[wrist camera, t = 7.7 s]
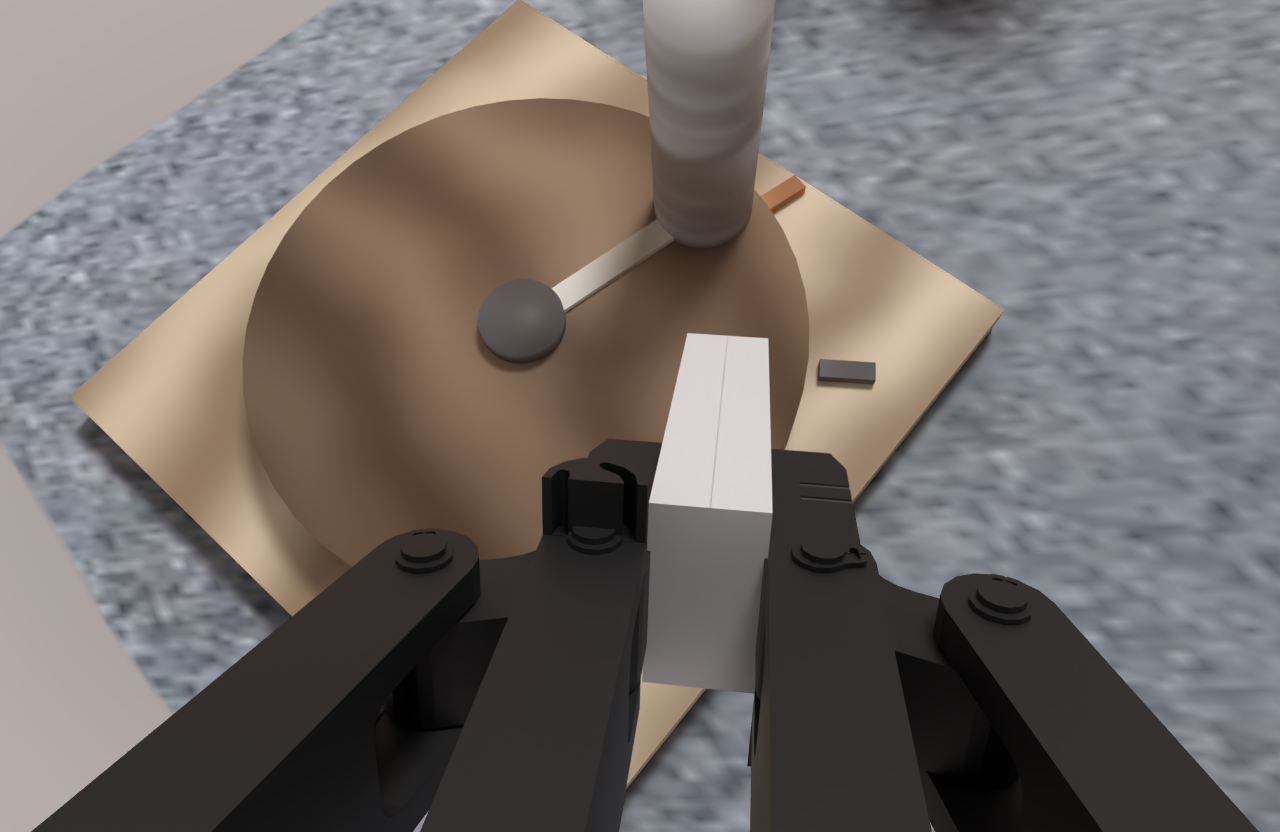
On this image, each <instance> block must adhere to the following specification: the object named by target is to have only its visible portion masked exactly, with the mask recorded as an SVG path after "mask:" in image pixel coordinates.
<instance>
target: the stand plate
mask: <svg viewBox="0 0 1280 832" xmlns="http://www.w3.org/2000/svg"><path fill="white" fill-rule="evenodd" d="M536 98H548V99H574V100H581V101H588V102H595V103H602V104H607V105H611V106H615V107H619V108H623V109H627V110H631V111H634V112H638V113H641V114H643V115H646V116H648V117H649V103H648V85H647V80H645V79H644V78H642V77H641V76H639V75H637V74H636V73H634V72H633V71H631V70H630V69H628V68H627V67H625V66H623V65H622V64H620V63H619V62H617V61H616V60H614V59H612V58H611V57H609V56H608V55H606V54H605V53H603V52H602V51H600V50H598V49H597V48H595V47H594V46H592V45H591V44H589V43H587V42H586V41H584V40H583V39H581V38H580V37H578V36H577V35H575V34H573V33H572V32H570V31H569V30H567V29H566V28H564V27H563V26H561V25H559V24H558V23H556V22H555V21H553V20H552V19H550V18H548V17H547V16H545V15H544V14H542V13H541V12H539V11H538V10H536V9H534V8H533V7H531V6H530V5H528V4H527V3H525V2H523V1H522V0H517V1H516V2H515V3H514V4H513V5H512V6H510V7H509V8H508V9H507V10H506V11H505V12H504V13H502V14H501V15H500V16H499V17H498V18H497V19H496V20H495V21H493V22H492V23H491V24H490V25H489V26H488V27H487V28H486V29H484V30H483V31H482V32H481V33H480V34H479V35H478V36H476V37H475V38H474V39H473V40H472V41H471V42H470V43H469V44H467V45H466V46H465V47H464V48H463V49H462V50H461V51H459V52H458V53H457V54H456V55H455V56H454V57H453V58H452V59H450V60H449V61H448V62H447V63H446V64H445V65H444V66H443V67H441V68H440V69H439V70H438V71H437V72H436V73H435V74H433V75H432V76H431V77H430V78H429V79H428V80H427V81H426V82H424V83H423V84H422V85H421V86H420V87H419V88H418V89H416V90H415V91H414V92H413V93H412V94H411V95H410V96H409V97H407V98H406V99H405V100H404V101H403V102H402V103H401V104H400V105H398V106H397V107H396V108H395V109H394V110H393V111H392V112H390V113H389V114H388V115H387V116H386V117H385V118H384V119H383V120H381V121H380V122H379V123H378V124H377V125H376V126H375V127H374V128H372V129H371V130H370V131H369V132H368V133H367V134H366V135H364V136H363V137H362V138H361V139H360V140H359V141H358V142H357V143H355V144H354V145H353V146H352V147H351V148H350V149H349V150H347V151H346V152H345V153H344V154H343V155H342V156H341V157H340V158H338V159H337V160H336V161H335V162H334V163H333V164H332V165H331V166H329V167H328V168H327V169H326V170H325V171H324V172H323V173H321V174H320V175H319V176H318V177H317V178H316V179H315V180H314V181H312V182H311V183H310V184H309V185H308V186H307V187H306V188H304V189H303V190H302V191H301V192H300V193H299V194H298V195H297V196H295V197H294V198H293V199H292V200H291V201H290V202H289V203H288V204H286V205H285V206H284V207H283V208H282V209H281V210H280V211H278V212H277V213H276V214H275V215H274V216H273V217H272V218H271V219H269V220H268V221H267V222H266V223H265V224H264V225H263V226H261V227H260V228H259V229H258V230H257V231H256V232H255V233H254V234H252V235H251V236H250V237H249V238H248V239H247V240H246V241H245V242H243V243H242V244H241V245H240V246H239V247H238V248H237V249H235V250H234V251H233V252H232V253H231V254H230V255H229V256H228V257H226V258H225V259H224V260H223V261H222V262H221V263H220V264H218V265H217V266H216V267H215V268H214V269H213V270H212V271H211V272H209V273H208V274H207V275H206V276H205V277H204V278H203V279H202V280H200V281H199V282H198V283H197V284H196V285H195V286H194V287H192V288H191V289H190V290H189V291H188V292H187V293H186V294H185V295H183V296H182V297H181V298H180V299H179V300H178V301H177V302H175V303H174V304H173V305H172V306H171V307H170V308H169V309H168V310H166V311H165V312H164V313H163V314H162V315H161V316H160V317H159V318H157V319H156V320H155V321H154V322H153V323H152V324H151V325H149V326H148V327H147V328H146V329H145V330H144V331H143V332H142V333H140V334H139V335H138V336H137V337H136V338H135V339H134V340H133V341H131V342H130V343H129V344H128V345H127V346H126V347H125V348H123V349H122V350H121V351H120V352H119V353H118V354H117V355H116V356H114V357H113V358H112V359H111V360H110V361H109V362H108V363H106V364H105V365H104V366H103V367H102V368H101V369H100V370H99V371H97V372H96V373H95V374H94V375H93V376H92V377H91V378H90V379H88V380H87V381H86V382H85V383H84V384H83V385H82V386H80V387H79V388H78V389H77V390H76V391H75V392H74V393H73V394H71V395H70V396H69V397H70V398H71V399H72V400H73V401H74V402H75V403H76V404H77V405H78V406H79V407H80V408H81V409H82V410H83V411H84V412H85V413H86V414H87V415H88V416H89V417H90V418H91V419H92V420H93V421H94V422H95V423H96V424H97V425H98V426H99V427H100V428H101V429H102V430H103V431H104V432H105V433H106V434H108V435H109V436H110V437H111V438H112V439H113V440H114V441H115V442H116V443H117V444H118V445H119V446H120V447H121V448H122V449H123V450H124V451H125V452H126V453H127V454H128V455H129V456H130V457H131V458H132V459H133V460H134V461H135V462H136V463H137V464H138V465H139V466H140V467H141V468H142V469H143V470H144V471H145V472H146V473H147V474H148V475H149V476H150V477H151V478H152V479H153V480H154V481H155V482H156V483H157V484H158V485H159V486H160V487H161V488H162V489H163V490H164V491H165V492H166V493H167V494H168V495H169V496H170V497H171V498H172V499H173V500H174V501H175V502H177V503H178V504H179V505H180V506H181V507H182V508H183V509H184V510H185V511H186V512H187V513H188V514H189V515H190V516H191V517H192V518H193V519H194V520H195V521H196V522H197V523H198V524H199V525H200V526H201V527H202V528H203V529H204V530H205V531H206V532H207V533H208V534H209V535H210V536H211V537H212V538H213V539H214V540H215V541H216V542H217V543H218V544H219V545H220V546H221V547H222V548H223V549H224V550H225V551H226V552H227V553H228V554H229V555H230V556H231V557H232V558H233V559H234V560H235V561H236V562H237V563H238V564H239V565H240V566H241V567H242V568H243V569H244V570H246V571H247V572H248V573H249V574H250V575H251V576H252V577H253V578H254V579H255V580H256V581H257V582H258V583H259V584H260V585H261V586H262V587H263V588H264V589H265V590H266V591H267V592H268V593H269V594H270V595H271V596H272V597H273V598H274V599H275V600H276V601H277V602H278V603H279V604H280V605H281V606H282V607H283V608H284V609H285V610H286V611H287V612H288V613H289V614H290V615H291V616H293V615H294V614H296V613H297V612H298V611H299V610H301V609H302V608H303V607H304V606H305V605H307V604H308V603H309V602H310V601H311V600H313V599H314V598H315V597H316V596H318V595H319V594H320V593H321V592H322V591H324V590H325V589H326V588H327V587H328V586H330V585H331V584H332V583H333V582H334V581H336V580H337V579H338V578H339V577H341V576H342V575H343V574H344V573H345V572H347V571H348V570H349V569H350V568H351V566H350V565H349V564H347V563H346V562H345V561H343V560H342V559H341V558H339V557H338V556H337V555H335V554H334V553H333V552H331V551H330V550H328V549H327V548H326V547H324V546H323V545H322V544H321V543H320V542H319V541H318V540H317V539H316V538H315V537H314V536H313V535H312V534H311V533H310V532H309V531H308V530H307V529H306V528H305V527H304V526H303V525H302V524H301V523H300V522H299V521H298V520H297V519H296V518H295V516H294V515H293V514H292V512H291V511H290V510H289V508H288V507H287V505H286V504H285V503H284V501H283V500H282V498H281V497H280V496H279V494H278V493H277V492H276V490H275V488H274V486H273V485H272V483H271V481H270V479H269V477H268V475H267V473H266V471H265V469H264V467H263V465H262V463H261V461H260V459H259V456H258V453H257V450H256V447H255V444H254V441H253V438H252V435H251V432H250V429H249V426H248V420H247V414H246V408H245V402H244V396H243V364H242V359H243V351H244V343H245V335H246V327H247V323H248V319H249V316H250V312H251V308H252V305H253V301H254V297H255V294H256V291H257V289H258V287H259V284H260V282H261V279H262V277H263V275H264V272H265V270H266V267H267V265H268V263H269V261H270V260H271V258H272V256H273V254H274V253H275V251H276V249H277V247H278V246H279V244H280V242H281V240H282V239H283V237H284V235H285V234H286V232H287V231H288V230H289V228H290V227H291V226H292V224H293V223H294V222H295V220H296V219H297V218H298V216H299V215H300V214H301V212H302V211H303V210H304V208H305V207H306V206H307V205H308V204H309V203H310V202H311V201H312V200H313V199H314V198H315V197H316V196H317V195H318V194H319V193H320V192H321V190H322V189H323V188H324V187H325V186H326V185H327V184H328V183H329V182H331V181H332V180H333V179H334V178H335V177H337V176H338V175H339V174H340V173H341V172H342V171H344V170H345V169H346V168H347V167H348V166H350V165H351V164H352V163H353V162H355V161H356V160H358V159H359V158H361V157H362V156H364V155H365V154H367V153H368V152H370V151H371V150H372V149H374V148H375V147H377V146H378V145H380V144H381V143H383V142H385V141H387V140H389V139H391V138H393V137H395V136H397V135H399V134H400V133H402V132H404V131H406V130H408V129H410V128H412V127H415V126H417V125H420V124H422V123H425V122H427V121H430V120H432V119H435V118H437V117H440V116H442V115H446V114H449V113H453V112H456V111H460V110H463V109H467V108H470V107H474V106H479V105H485V104H490V103H496V102H502V101H508V100H522V99H536ZM754 189H755V190H756V191H757V193H758V194H759V195H760V196H761V197H762V199H763V200H764V201H765V202H766V204H767V205H768V207H769V208H770V210H771V211H772V213H773V215H774V216H775V218H776V219H777V221H778V222H779V224H780V226H781V227H782V229H783V231H784V233H785V235H786V237H787V240H788V242H789V244H790V246H791V248H792V251H793V253H794V255H795V257H796V260H797V263H798V267H799V271H800V274H801V278H802V281H803V285H804V288H805V293H806V301H807V308H808V316H809V360H808V366H807V372H806V378H805V384H804V390H803V394H802V397H801V401H800V404H799V408H798V411H797V414H796V417H795V421H794V424H793V427H792V430H791V433H790V436H789V439H788V442H787V446H786V448H785V450H794V451H807V452H820V453H830V454H831V455H832V456H833V457H834V458H835V459H836V460H837V461H839V462H840V463H841V464H842V465H843V466H844V467H845V468H846V470H847V476H848V481H849V489H850V491H851V497H852V503H854V502H855V501H856V499H857V498H858V497H859V496H860V494H861V493H862V492H863V490H864V489H865V488H866V487H867V485H868V484H869V483H870V482H871V480H872V479H873V478H874V477H875V475H876V474H877V473H878V472H879V470H880V469H881V468H882V467H883V465H884V464H885V463H886V461H887V460H888V459H889V458H890V456H891V455H892V454H893V453H894V451H895V450H896V449H897V448H898V446H899V445H900V444H901V443H902V441H903V440H904V439H905V438H906V436H907V435H908V434H909V433H910V431H911V430H912V429H913V427H914V426H915V425H916V424H917V422H918V421H919V420H920V419H921V417H922V416H923V415H924V414H925V412H926V411H927V410H928V409H929V407H930V406H931V405H932V404H933V402H934V401H935V400H936V398H937V397H938V396H939V395H940V393H941V392H942V391H943V390H944V388H945V387H946V386H947V385H948V383H949V382H950V381H951V380H952V378H953V377H954V376H955V375H956V373H957V372H958V371H959V369H960V368H961V367H962V366H963V364H964V363H965V362H966V361H967V359H968V358H969V357H970V356H971V354H972V353H973V352H974V351H975V349H976V348H977V347H978V346H979V344H980V343H981V342H982V340H983V339H984V338H985V337H986V335H987V334H988V333H989V332H990V330H991V329H992V328H993V326H994V325H995V323H996V322H997V320H998V319H999V317H1000V316H1001V314H1002V313H1003V311H1004V309H1003V308H1001V307H1000V306H998V305H997V304H995V303H993V302H992V301H990V300H989V299H987V298H986V297H984V296H982V295H981V294H979V293H978V292H976V291H975V290H973V289H972V288H970V287H968V286H967V285H965V284H964V283H962V282H961V281H959V280H958V279H956V278H954V277H953V276H951V275H950V274H948V273H947V272H945V271H943V270H942V269H940V268H939V267H937V266H936V265H934V264H933V263H931V262H929V261H928V260H926V259H925V258H923V257H922V256H920V255H918V254H917V253H915V252H914V251H912V250H911V249H909V248H908V247H906V246H904V245H903V244H901V243H900V242H898V241H897V240H895V239H894V238H892V237H890V236H889V235H887V234H886V233H884V232H883V231H881V230H879V229H878V228H876V227H875V226H873V225H872V224H870V223H869V222H867V221H865V220H864V219H862V218H861V217H859V216H858V215H856V214H854V213H853V212H851V211H850V210H848V209H847V208H845V207H844V206H842V205H840V204H839V203H837V202H836V201H834V200H833V199H831V198H829V197H828V196H826V195H825V194H823V193H822V192H820V191H819V190H817V189H815V188H814V187H812V186H811V185H809V184H808V183H806V182H805V181H803V180H801V179H800V178H798V177H797V176H795V175H794V174H792V173H790V172H789V171H787V170H786V169H784V168H783V167H781V166H780V165H778V164H776V163H775V162H773V161H772V160H770V159H769V158H767V157H765V156H764V155H762V154H761V153H759V152H758V161H757V170H756V179H755V187H754ZM642 674H643V668H642ZM642 674H641V686H640V710H639V716H638V721H637V727H636V733H635V739H634V745H633V751H632V757H631V763H630V769H629V775H628V781H627V786H626V789H627V788H628V787H629V785H630V784H631V783H632V782H633V780H634V779H635V778H636V777H637V775H638V774H639V773H640V772H641V770H642V769H643V768H644V767H645V765H646V764H647V763H648V761H649V760H650V759H651V758H652V756H653V755H654V754H655V753H656V751H657V750H658V749H659V748H660V746H661V745H662V744H663V743H664V741H665V740H666V739H667V738H668V736H669V735H670V734H671V732H672V731H673V730H674V729H675V727H676V726H677V725H678V724H679V722H680V721H681V720H682V719H683V717H684V716H685V715H686V714H687V712H688V711H689V710H690V709H691V707H692V706H693V705H694V704H695V702H696V701H697V700H698V698H699V697H700V696H701V695H702V693H703V692H704V691H705V690H706V688H696V687H686V686H676V685H667V684H657V683H647V682H642Z"/></svg>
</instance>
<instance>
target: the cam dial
mask: <svg viewBox="0 0 1280 832" xmlns="http://www.w3.org/2000/svg"><path fill="white" fill-rule="evenodd" d="M775 2H776V0H643V12H644V31H645V49H646V67H647V85H648V103H649V117H648V116H646V115H643V114H641V113H638V112H634V111H631V110H627V109H623V108H619V107H615V106H611V105H607V104H602V103H595V102H588V101H581V100H574V99H548V98H536V99H522V100H508V101H502V102H496V103H490V104H485V105H479V106H474V107H470V108H467V109H463V110H460V111H456V112H453V113H449V114H446V115H442V116H440V117H437V118H435V119H432V120H430V121H427V122H425V123H422V124H420V125H417V126H415V127H412V128H410V129H408V130H406V131H404V132H402V133H400V134H399V135H397V136H395V137H393V138H391V139H389V140H387V141H385V142H383V143H381V144H380V145H378V146H377V147H375V148H374V149H372V150H371V151H370V152H368V153H367V154H365V155H364V156H362V157H361V158H359V159H358V160H356V161H355V162H353V163H352V164H351V165H350V166H348V167H347V168H346V169H345V170H344V171H342V172H341V173H340V174H339V175H338V176H337V177H335V178H334V179H333V180H332V181H331V182H329V183H328V184H327V185H326V186H325V187H324V188H323V189H322V190H321V192H320V193H319V194H318V195H317V196H316V197H315V198H314V199H313V200H312V201H311V202H310V203H309V204H308V205H307V206H306V207H305V208H304V210H303V211H302V212H301V214H300V215H299V216H298V218H297V219H296V220H295V222H294V223H293V224H292V226H291V227H290V228H289V230H288V231H287V232H286V234H285V235H284V237H283V239H282V240H281V242H280V244H279V246H278V247H277V249H276V251H275V253H274V254H273V256H272V258H271V260H270V261H269V263H268V265H267V267H266V270H265V272H264V275H263V277H262V279H261V282H260V284H259V287H258V289H257V291H256V294H255V297H254V301H253V305H252V308H251V312H250V316H249V319H248V323H247V327H246V335H245V343H244V351H243V359H242V364H243V396H244V402H245V408H246V414H247V420H248V426H249V429H250V432H251V435H252V438H253V441H254V444H255V447H256V450H257V453H258V456H259V459H260V461H261V463H262V465H263V467H264V469H265V471H266V473H267V475H268V477H269V479H270V481H271V483H272V485H273V486H274V488H275V490H276V492H277V493H278V494H279V496H280V497H281V498H282V500H283V501H284V503H285V504H286V505H287V507H288V508H289V510H290V511H291V512H292V514H293V515H294V516H295V518H296V519H297V520H298V521H299V522H300V523H301V524H302V525H303V526H304V527H305V528H306V529H307V530H308V531H309V532H310V533H311V534H312V535H313V536H314V537H315V538H316V539H317V540H318V541H319V542H320V543H321V544H322V545H323V546H324V547H326V548H327V549H328V550H330V551H331V552H333V553H334V554H335V555H337V556H338V557H339V558H341V559H342V560H343V561H345V562H346V563H347V564H349V565H350V566H351V567H353V566H354V565H355V564H356V563H358V562H359V561H360V560H361V559H362V558H364V557H365V556H366V555H367V554H368V553H370V552H371V551H372V550H373V549H374V548H376V547H377V546H378V545H380V544H381V543H383V542H385V541H387V540H388V539H390V538H392V537H393V536H396V535H400V534H403V533H406V532H410V531H412V530H417V529H423V530H424V529H426V528H436V529H441V530H450V531H455V532H457V533H460V534H462V535H465V536H468V537H469V538H470V539H471V540H472V541H473V542H474V543H475V544H476V545H477V546H478V553H479V560H487V559H497V558H506V557H512V556H518V555H522V554H526V553H529V552H532V551H535V550H536V549H537V547H538V545H539V542H540V540H541V537H542V535H543V525H542V476H543V475H544V474H545V473H546V472H547V471H548V470H549V469H550V468H551V467H553V466H556V465H558V464H560V463H562V462H564V461H569V460H574V459H579V458H588V456H589V453H590V451H592V450H593V449H594V448H596V447H597V446H599V445H600V444H601V443H603V442H604V441H606V440H607V439H619V440H632V441H646V442H659V443H663V438H664V434H665V429H666V425H667V421H668V416H669V412H670V408H671V403H672V399H673V394H674V390H675V386H676V381H677V377H678V372H679V368H680V364H681V359H682V355H683V351H684V346H685V342H686V337H687V333H693V334H708V335H724V336H739V337H754V338H768V346H769V387H770V428H771V449H781V450H785V448H786V446H787V442H788V439H789V436H790V433H791V430H792V427H793V424H794V421H795V417H796V414H797V411H798V408H799V404H800V401H801V397H802V394H803V390H804V384H805V378H806V372H807V366H808V360H809V316H808V308H807V301H806V293H805V288H804V285H803V281H802V278H801V274H800V271H799V267H798V263H797V260H796V257H795V255H794V253H793V251H792V248H791V246H790V244H789V242H788V240H787V237H786V235H785V233H784V231H783V229H782V227H781V226H780V224H779V222H778V221H777V219H776V218H775V216H774V215H773V213H772V211H771V210H770V208H769V207H768V205H767V204H766V202H765V201H764V200H763V199H762V197H761V196H760V195H759V194H758V193H757V191H756V190H755V189H754V187H755V179H756V170H757V161H758V152H759V143H760V134H761V126H762V117H763V108H764V99H765V90H766V81H767V73H768V64H769V55H770V46H771V37H772V28H773V20H774V11H775Z"/></svg>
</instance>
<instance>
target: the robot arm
mask: <svg viewBox="0 0 1280 832" xmlns="http://www.w3.org/2000/svg"><path fill="white" fill-rule="evenodd" d="M542 525H543V535H542V537H541V540H540V542H539V545H538V547H537V549H536V550H535V551H532V552H529V553H526V554H522V555H518V556H512V557H506V558H497V559H487V560H479V553H478V546H477V545H476V544H475V543H474V542H473V541H472V540H471V539H470V538H469V537H468V536H465V535H462V534H460V533H457V532H455V531H450V530H441V529H436V528H426V529H424V530H423V529H417V530H412V531H410V532H406V533H403V534H400V535H396V536H393V537H392V538H390V539H388V540H387V541H385V542H383V543H381V544H380V545H378V546H377V547H376V548H374V549H373V550H372V551H371V552H370V553H368V554H367V555H366V556H365V557H364V558H362V559H361V560H360V561H359V562H358V563H356V564H355V565H354V566H353V567H351V568H350V569H349V570H348V571H347V572H345V573H344V574H343V575H342V576H341V577H339V578H338V579H337V580H336V581H334V582H333V583H332V584H331V585H330V586H328V587H327V588H326V589H325V590H324V591H322V592H321V593H320V594H319V595H318V596H316V597H315V598H314V599H313V600H311V601H310V602H309V603H308V604H307V605H305V606H304V607H303V608H302V609H301V610H299V611H298V612H297V613H296V614H294V615H293V616H292V617H291V618H290V619H288V620H287V621H286V622H285V623H284V624H282V625H281V626H280V627H279V628H278V629H276V630H275V631H274V632H273V633H271V634H270V635H269V636H268V637H267V638H265V639H264V640H263V641H262V642H261V643H259V644H258V645H257V646H256V647H254V648H253V649H252V650H251V651H250V652H248V653H247V654H246V655H245V656H244V657H242V658H241V659H240V660H239V661H238V662H236V663H235V664H234V665H233V666H231V667H230V668H229V669H228V670H227V671H225V672H224V673H223V674H222V675H221V676H219V677H218V678H217V679H216V680H214V681H213V682H212V683H211V684H210V685H208V686H207V687H206V688H205V689H204V690H202V691H201V692H200V693H199V694H198V695H196V696H195V697H194V698H193V699H191V700H190V701H189V702H188V703H187V704H185V705H184V706H183V707H182V708H181V709H179V710H178V711H177V712H176V713H174V714H173V715H172V716H171V717H170V718H168V719H167V720H166V721H165V722H164V723H162V724H161V725H160V726H159V727H158V728H156V729H155V730H154V731H153V732H152V733H150V734H149V735H148V736H147V737H146V738H144V739H143V740H142V741H141V742H139V743H138V744H137V745H136V746H135V747H133V748H132V749H131V750H130V751H128V752H127V753H126V754H125V755H124V756H122V757H121V758H120V759H119V760H118V761H116V762H115V763H114V764H113V765H112V766H110V767H109V768H108V769H107V770H106V771H104V772H103V773H102V774H101V775H99V776H98V777H97V778H96V779H95V780H93V781H92V782H91V783H90V784H88V785H87V786H86V787H85V788H84V789H82V790H81V791H80V792H79V793H77V794H76V795H75V796H74V797H73V798H71V799H70V800H69V801H68V802H67V803H65V804H64V805H63V806H62V807H61V808H59V809H58V810H57V811H56V812H55V813H54V814H52V815H51V816H50V817H49V818H47V819H46V820H45V821H44V822H42V823H41V824H40V825H39V826H38V827H36V828H35V829H34V830H33V831H32V832H413V831H414V829H415V828H416V826H417V825H418V824H419V822H420V821H421V820H422V818H423V817H424V816H425V814H426V813H427V812H428V810H429V812H428V814H427V816H426V819H425V821H424V824H423V826H422V829H421V831H420V832H619V828H620V822H621V816H622V810H623V804H624V798H625V792H626V786H627V781H628V775H629V769H630V763H631V757H632V751H633V745H634V739H635V733H636V727H637V721H638V716H639V710H640V686H641V674H642V668H643V674H642V682H647V683H657V684H667V685H676V686H686V687H696V688H706V689H716V690H725V691H735V692H745V693H755V694H754V704H753V714H752V725H751V735H750V745H749V755H748V765H747V766H751V813H750V832H932V831H931V826H930V822H931V824H932V826H933V828H934V830H935V832H1259V831H1258V830H1257V829H1256V828H1255V827H1254V826H1253V824H1252V823H1251V822H1250V821H1249V820H1248V819H1247V818H1246V817H1245V816H1244V814H1243V813H1242V812H1241V811H1240V810H1239V809H1238V808H1237V807H1236V805H1235V804H1234V803H1233V802H1232V801H1231V800H1230V799H1229V798H1228V797H1227V795H1226V794H1225V793H1224V792H1223V791H1222V790H1221V789H1220V788H1219V786H1218V785H1217V784H1216V783H1215V782H1214V781H1213V780H1212V779H1211V778H1210V776H1209V775H1208V774H1207V773H1206V772H1205V771H1204V770H1203V769H1202V767H1201V766H1200V765H1199V764H1198V763H1197V762H1196V761H1195V760H1194V759H1193V757H1192V756H1191V755H1190V754H1189V753H1188V752H1187V751H1186V750H1185V748H1184V747H1183V746H1182V745H1181V744H1180V743H1179V742H1178V741H1177V740H1176V738H1175V737H1174V736H1173V735H1172V734H1171V733H1170V732H1169V731H1168V730H1167V728H1166V727H1165V726H1164V725H1163V724H1162V723H1161V722H1160V721H1159V719H1158V718H1157V717H1156V716H1155V715H1154V714H1153V713H1152V712H1151V711H1150V709H1149V708H1148V707H1147V706H1146V705H1145V704H1144V703H1143V702H1142V700H1141V699H1140V698H1139V697H1138V696H1137V695H1136V694H1135V693H1134V692H1133V690H1132V689H1131V688H1130V687H1129V686H1128V685H1127V684H1126V683H1125V681H1124V680H1123V679H1122V678H1121V677H1120V676H1119V675H1118V674H1117V673H1116V671H1115V670H1114V669H1113V668H1112V667H1111V666H1110V665H1109V664H1108V662H1107V661H1106V660H1105V659H1104V658H1103V657H1102V656H1101V655H1100V654H1099V652H1098V651H1097V650H1096V649H1095V648H1094V647H1093V646H1092V645H1091V643H1090V642H1089V641H1088V640H1087V639H1086V638H1085V637H1084V636H1083V635H1082V633H1081V632H1080V631H1079V630H1078V629H1077V628H1076V627H1075V626H1074V624H1073V623H1072V622H1071V621H1070V620H1069V619H1068V618H1067V617H1066V616H1065V614H1064V613H1063V612H1062V611H1061V610H1060V609H1059V608H1058V607H1057V606H1056V604H1055V603H1054V602H1052V601H1051V600H1050V599H1049V598H1047V597H1046V596H1045V595H1044V594H1043V593H1041V592H1040V591H1039V590H1037V589H1035V588H1033V587H1030V586H1028V585H1026V584H1024V583H1022V582H1020V581H1018V580H1016V579H1012V578H1009V577H1007V578H1006V577H1004V576H1001V575H995V574H969V575H963V576H957V577H955V578H953V579H952V580H950V581H949V582H947V583H945V584H944V586H943V589H942V592H941V594H940V599H939V598H935V597H931V596H928V595H924V594H921V593H917V592H914V591H911V590H908V589H905V588H902V587H899V586H897V585H895V584H893V583H891V582H889V581H887V580H885V579H884V578H882V577H881V576H880V575H879V573H878V568H877V563H876V561H875V560H874V558H873V556H872V554H871V552H870V551H869V550H867V549H866V548H865V547H863V546H862V545H861V544H860V539H859V534H858V529H857V523H856V518H855V513H854V507H853V503H852V497H851V491H850V489H849V481H848V476H847V470H846V468H845V467H844V466H843V465H842V464H841V463H840V462H839V461H837V460H836V459H835V458H834V457H833V456H832V455H831V454H830V453H820V452H807V451H794V450H781V449H771V428H770V387H769V346H768V338H754V337H739V336H724V335H708V334H693V333H687V337H686V342H685V346H684V351H683V355H682V359H681V364H680V368H679V372H678V377H677V381H676V386H675V390H674V394H673V399H672V403H671V408H670V412H669V416H668V421H667V425H666V429H665V434H664V438H663V443H659V442H646V441H632V440H619V439H607V440H606V441H604V442H603V443H601V444H600V445H599V446H597V447H596V448H594V449H593V450H592V451H590V453H589V456H588V458H579V459H574V460H569V461H564V462H562V463H560V464H558V465H556V466H553V467H551V468H550V469H549V470H548V471H547V472H546V473H545V474H544V475H543V476H542ZM929 820H930V821H929Z"/></svg>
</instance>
